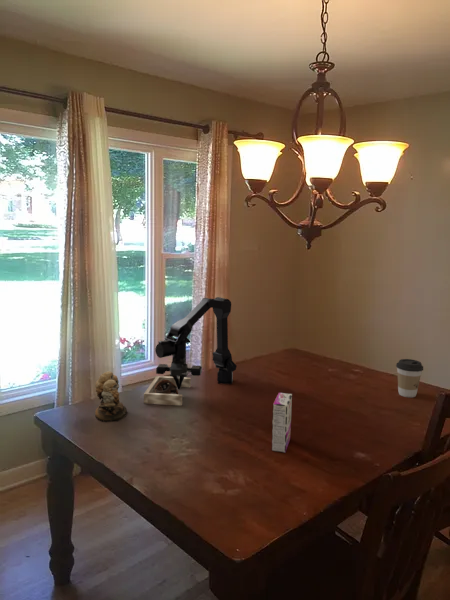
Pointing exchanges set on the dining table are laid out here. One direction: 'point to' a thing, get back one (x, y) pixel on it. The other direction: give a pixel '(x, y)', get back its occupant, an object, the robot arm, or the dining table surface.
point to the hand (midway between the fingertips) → (179, 389)
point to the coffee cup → (408, 376)
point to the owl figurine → (109, 399)
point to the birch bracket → (161, 398)
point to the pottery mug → (166, 387)
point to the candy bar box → (281, 422)
